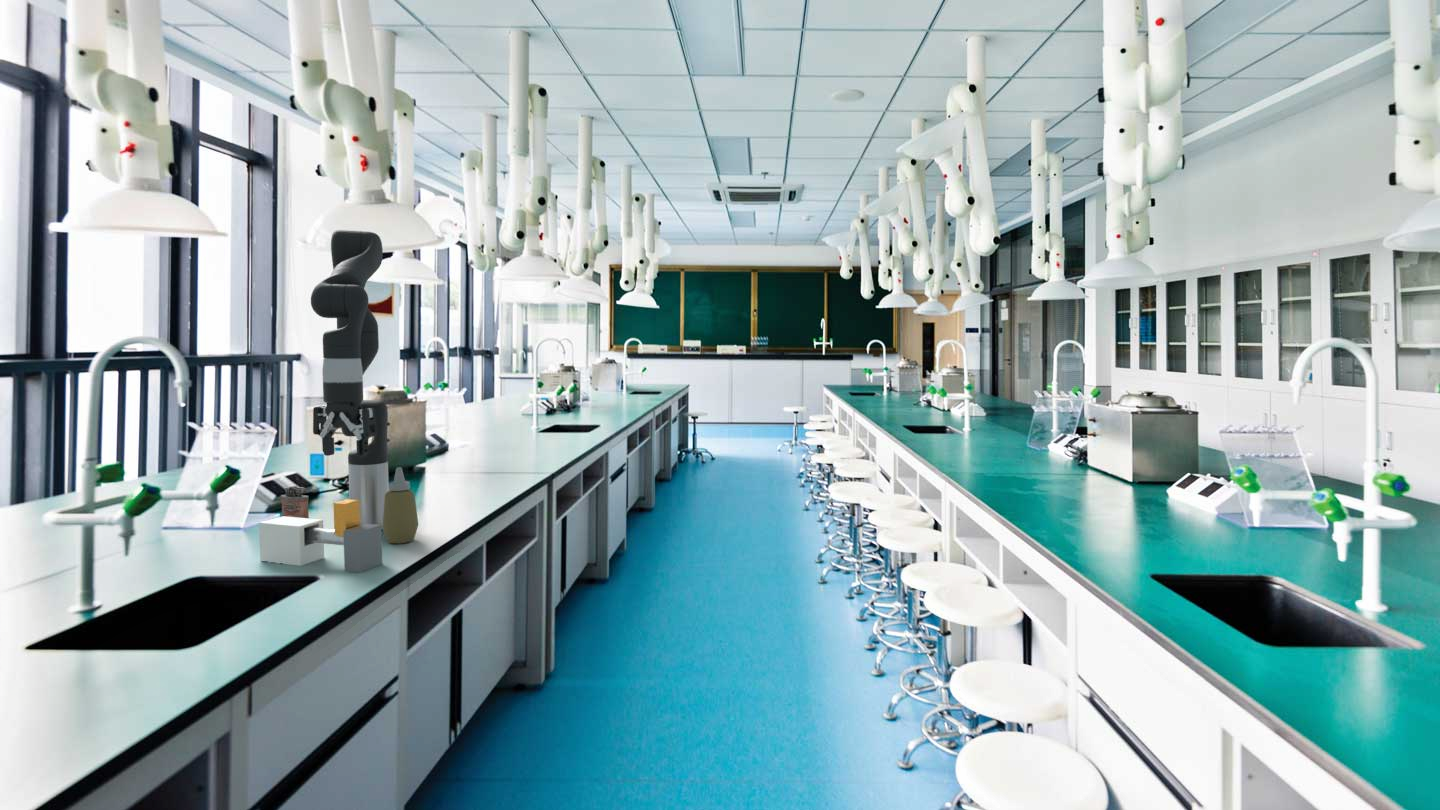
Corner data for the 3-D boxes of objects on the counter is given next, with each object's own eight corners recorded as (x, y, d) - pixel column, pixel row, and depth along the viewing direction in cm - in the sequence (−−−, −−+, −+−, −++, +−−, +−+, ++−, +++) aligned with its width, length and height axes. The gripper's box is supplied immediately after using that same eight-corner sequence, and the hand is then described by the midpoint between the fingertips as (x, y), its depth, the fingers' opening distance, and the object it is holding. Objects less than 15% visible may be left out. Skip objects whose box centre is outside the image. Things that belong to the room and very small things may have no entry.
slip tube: (293, 543, 160) (292, 499, 159) (308, 538, 163) (307, 495, 163) (362, 550, 155) (360, 505, 154) (375, 545, 158) (374, 501, 158)
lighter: (278, 524, 194) (276, 486, 193) (289, 521, 197) (287, 484, 197) (302, 526, 192) (301, 488, 191) (313, 523, 195) (311, 486, 194)
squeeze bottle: (408, 535, 184) (406, 463, 183) (425, 540, 179) (423, 467, 178) (376, 541, 178) (374, 467, 176) (392, 547, 173) (390, 471, 171)
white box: (260, 561, 161) (258, 522, 160) (284, 553, 167) (283, 516, 166) (300, 565, 158) (299, 526, 157) (324, 557, 164) (323, 519, 163)
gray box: (344, 570, 155) (343, 530, 154) (367, 562, 161) (365, 523, 160) (360, 572, 154) (359, 532, 153) (382, 563, 160) (381, 524, 159)
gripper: (383, 379, 157) (386, 455, 158) (329, 378, 161) (331, 452, 162) (357, 381, 150) (360, 460, 151) (301, 380, 153) (304, 456, 155)
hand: (345, 456), depth 156 cm, fingers open, 8 cm apart
